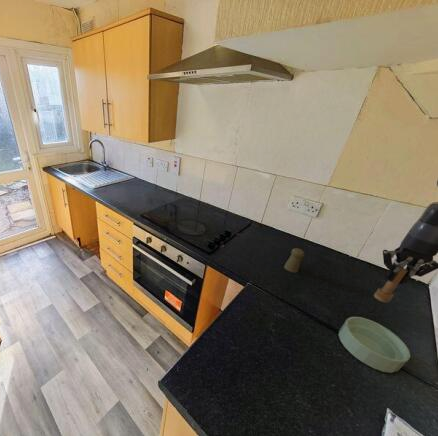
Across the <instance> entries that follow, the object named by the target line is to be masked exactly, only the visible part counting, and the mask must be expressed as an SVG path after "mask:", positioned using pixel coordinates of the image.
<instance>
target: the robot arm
mask: <svg viewBox="0 0 438 436" xmlns="http://www.w3.org/2000/svg"><path fill="white" fill-rule="evenodd" d="M436 186H437V187H438V179H437V180H436ZM437 254H438V201H433V202H431V203H429V204H428V205H427V206H426V207H425V209H424V211H422V213H421V215H420V216H419V217H418V219H417V220H416V221H415V222H414V224H412V226H411V227H410V229H409V230H408V232H407V233H406V235H405V236H404V238H403V239H402V241H401V242H400V245H399V246H398V247H397V248H395V249H394V250H388V249H383V250H382V258H383V259H382V260H383V265H384V266H385V267H386V268H387V269H388V270H387V271H386V273H385V274H384V276H385V278H386V280H387V281H392V280H393V279H394V277H395V276H396V275H397V272H398V271H399V270H400V269H401V268H405V269H406V270H408V272H407V273H406V274H405V276H404V277H403V278H402V280H401V281H400V282H399V284H400V285H404V284H407V283H408V282H409V280H410V279H411V278H412V277H414V276H417V277H419V278H420V277H424V276H425V275H427V274H430V273H433V272H434V271H437V270H438V261H436V260H434V257H435V256H437ZM394 257H395V259H394Z"/></svg>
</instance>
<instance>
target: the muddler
mask: <svg viewBox="0 0 438 436" xmlns="http://www.w3.org/2000/svg"><path fill="white" fill-rule="evenodd" d="M407 272H408V270H406V267H404V268H401V269H400V270H399V271H398V272H397V275H396V276H395V277H394V279H393V280H392V281H388V280H387V281H386V283H385V284H384V286H383V287H379V288H377V290H376V291H375V292H374V293H373V297H374V298H375V299H376V300H378V301H379V302H382V303H385V304H388V303H390V302H391V300H393V298H394V296H395V295H394V293H393V292H394V290H395V289H396V288H397V286H398V285H399V284H400V283H399V282H400V281H401V280H402V278H403V277H404V276H405V274H406V273H407Z"/></svg>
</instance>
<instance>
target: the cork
mask: <svg viewBox="0 0 438 436" xmlns="http://www.w3.org/2000/svg"><path fill="white" fill-rule="evenodd" d="M305 255H306V253H305V251H304V250H303V249H301V248H299V247H295V248H294V247H293V248H292V249H291V255H290V256H289V258H288V259H287V261H286V262H285V264H284V265H283V268H284V269H285V270H286V271H288V272H289V273H292V274H293V273H294V274H295V273H298V272H299V269H300V265H301V262H302V258H304V257H305Z"/></svg>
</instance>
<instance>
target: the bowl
mask: <svg viewBox="0 0 438 436" xmlns="http://www.w3.org/2000/svg"><path fill="white" fill-rule="evenodd" d="M338 339H339V340H340V342H341V344H342V345H343V347H344V348H345V350H347V351H348V352H349V353H350V354H351V355H352V356H353V357H354V358H356V360H359V361H360V362H361V363H363V364H365V365H366V366H368V367H370V368H372V369H375V370H377V371H379V372H380V371H381V372H383V373H389V374H392V373H396V372H398V371H400V369H401V368H402V367H403V366H404V365H405V364H406V363H407V362H409V360H410V358H411V352H410V349H409V348H408V346H407V344H406V343H405V342H404V341H403V340H402V339H401V338H400V337H399V336H398V335H396V334H395V333H394V332H393V331H391V330H390V329H388V328H387V327H385V326H384V325H382V324H380V323H378V322H375V321H374V320H371V319H370V318H369V319H368V318H365V317H361V316H349V317H348V318H346V320H345V321H344V323H343V324H342V326H341V327H340V328H339V330H338Z"/></svg>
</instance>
